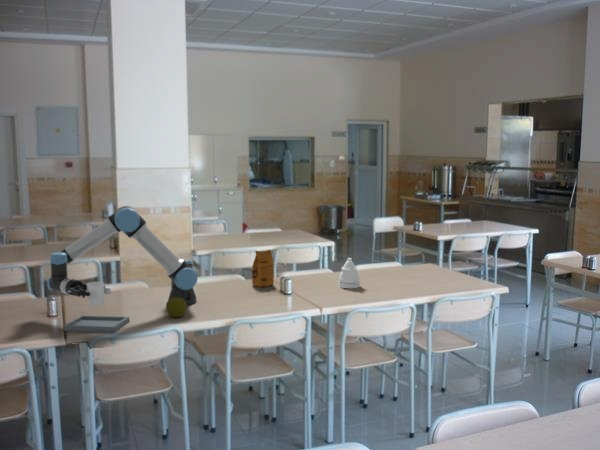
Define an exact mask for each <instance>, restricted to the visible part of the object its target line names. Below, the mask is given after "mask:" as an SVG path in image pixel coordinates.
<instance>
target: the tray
mask: <svg viewBox="0 0 600 450" xmlns="http://www.w3.org/2000/svg"><path fill="white" fill-rule="evenodd" d="M128 323H130V316H119V315H118V316H116V315H115V316H114V315H80V316H78V317H76V318H75V319H73V320H71V321H68V322H67V323H66V324H64V325H63V331H64V332H82V333H85V332H86V333H114V332H115V333H116V332H117V331H119V330H120V329H122V328H123V327H124V326H125V325H127V324H128Z"/></svg>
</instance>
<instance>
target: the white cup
mask: <svg viewBox="0 0 600 450" xmlns="http://www.w3.org/2000/svg"><path fill="white" fill-rule="evenodd" d="M86 285H87V290H89V291H94V292H96V298H92V297H88V296H87V299H88V301H87V303H88V306H91V307H98V306H102V305H104V304H105V294H104V286H105V282H103V281H91V282H87V283H86Z"/></svg>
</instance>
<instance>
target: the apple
mask: <svg viewBox="0 0 600 450" xmlns="http://www.w3.org/2000/svg"><path fill="white" fill-rule="evenodd" d="M165 307H166V313H167V314H168V316H169V317H171V318H181V317H183V316H184V315H185V313H186V311H187V307H188V306H187V304H186V302H185V300H184V299H183V298H181V297H173V298H170V299H169V300H167V302H166V305H165Z"/></svg>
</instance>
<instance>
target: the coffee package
mask: <svg viewBox="0 0 600 450" xmlns="http://www.w3.org/2000/svg"><path fill="white" fill-rule="evenodd" d="M254 253H255V256H254V260H253V263H252V269H251V270H252V271H251V272H252V273H251V275H252V278H251V283H252V286H253V285H255V286H254V287H256V286H258V287H257V288H259V287H260V288H263V286H264V287H265V286H268V287H271V286H270V285H272V286H274V285H275V284H274V282H275V281H274V280H275V279H274V276H275V275H274V274H275V270H274V258H273V255H272V250H271V249H266V250H262V251H261V250H255V252H254Z"/></svg>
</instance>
